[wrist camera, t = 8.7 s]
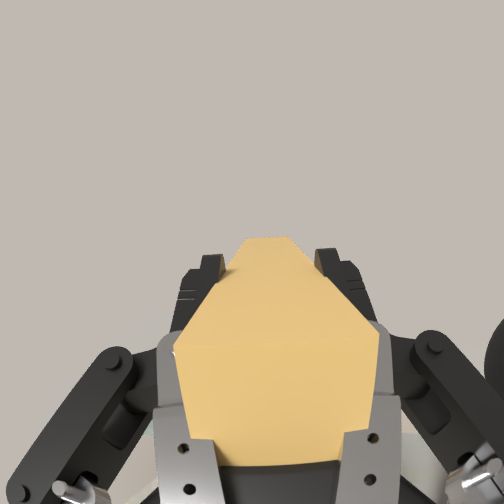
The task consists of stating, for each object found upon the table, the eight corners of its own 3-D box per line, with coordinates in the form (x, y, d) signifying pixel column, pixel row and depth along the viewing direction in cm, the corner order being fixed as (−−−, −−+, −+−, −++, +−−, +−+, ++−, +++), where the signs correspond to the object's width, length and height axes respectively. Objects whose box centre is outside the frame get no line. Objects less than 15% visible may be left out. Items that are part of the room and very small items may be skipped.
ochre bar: (289, 271, 27) (287, 236, 27) (362, 457, 5) (379, 333, 5) (248, 273, 27) (246, 238, 27) (197, 466, 5) (172, 345, 5)
